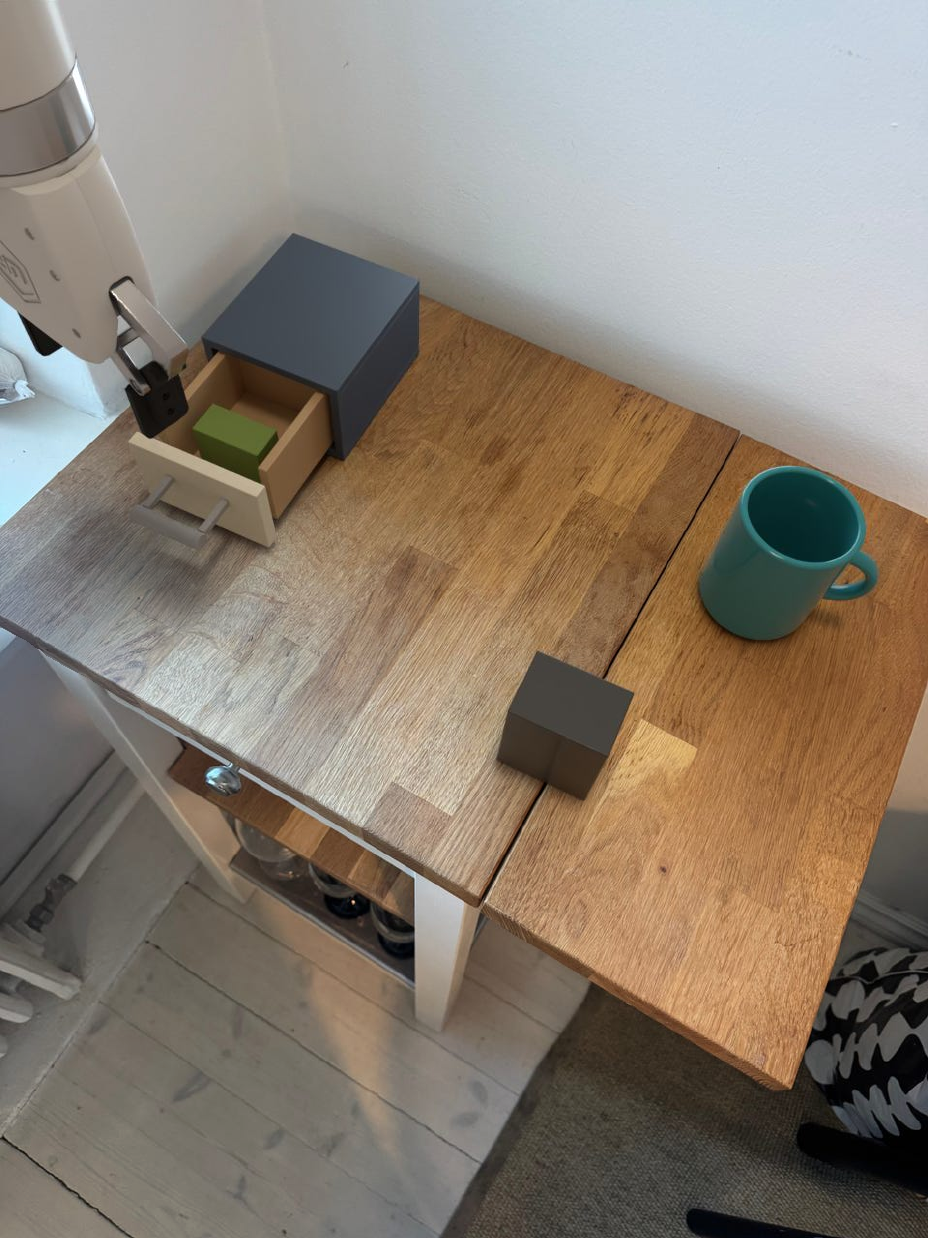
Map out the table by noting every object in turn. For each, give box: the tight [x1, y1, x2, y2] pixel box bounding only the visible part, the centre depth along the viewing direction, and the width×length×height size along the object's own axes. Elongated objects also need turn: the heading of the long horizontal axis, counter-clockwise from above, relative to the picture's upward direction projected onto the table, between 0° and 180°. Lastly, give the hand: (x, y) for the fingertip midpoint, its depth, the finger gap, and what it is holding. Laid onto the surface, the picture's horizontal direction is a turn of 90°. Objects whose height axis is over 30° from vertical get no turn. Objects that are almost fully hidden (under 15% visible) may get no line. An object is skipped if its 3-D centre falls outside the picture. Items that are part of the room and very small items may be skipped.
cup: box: [698, 465, 880, 641], centre depth 68 cm, size 9×12×11 cm
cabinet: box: [200, 232, 421, 461], centre depth 79 cm, size 15×13×9 cm
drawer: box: [127, 351, 334, 552], centre depth 72 cm, size 18×11×7 cm, turn 155°
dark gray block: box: [496, 650, 635, 801], centre depth 62 cm, size 7×5×9 cm
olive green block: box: [192, 404, 279, 485], centre depth 73 cm, size 6×3×4 cm, turn 65°
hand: (112, 382), depth 55 cm, fingers open, 9 cm apart
